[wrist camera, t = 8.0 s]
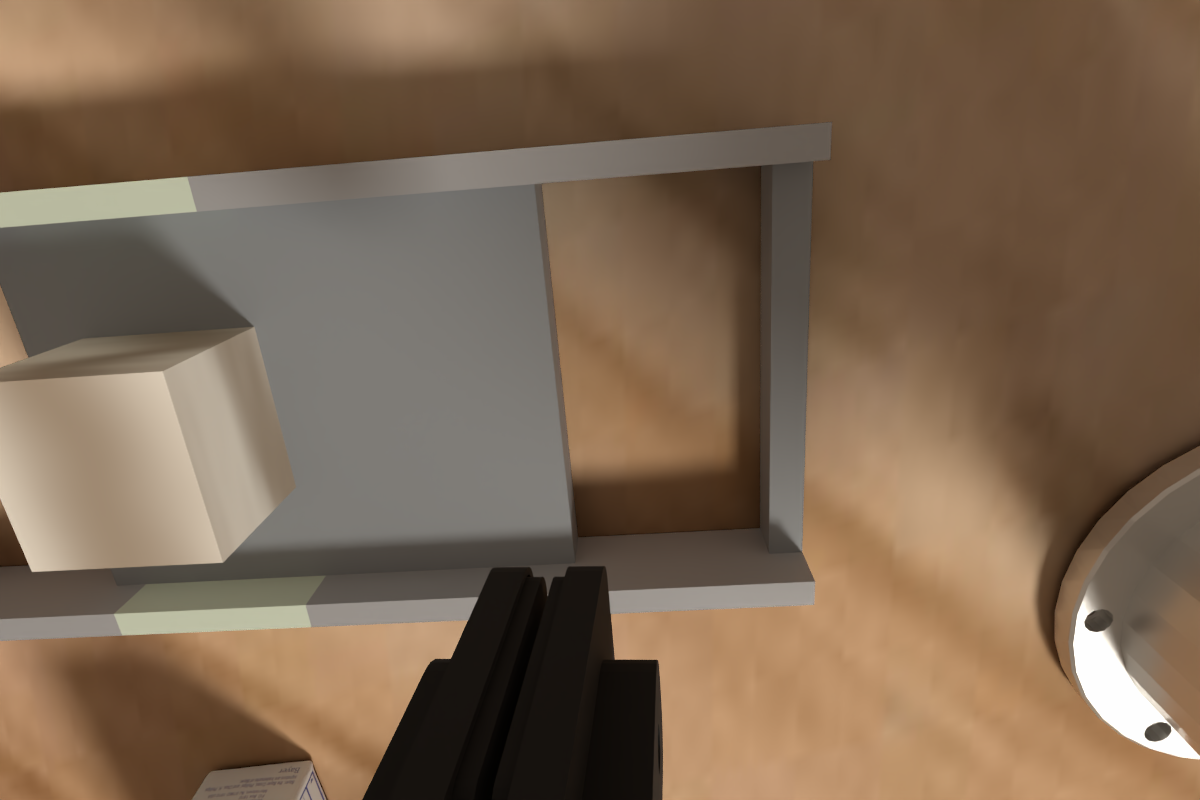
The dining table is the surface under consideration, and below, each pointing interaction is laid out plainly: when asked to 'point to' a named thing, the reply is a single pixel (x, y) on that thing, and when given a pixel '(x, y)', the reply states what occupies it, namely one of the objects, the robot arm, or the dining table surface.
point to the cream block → (140, 450)
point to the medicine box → (263, 783)
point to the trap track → (402, 381)
